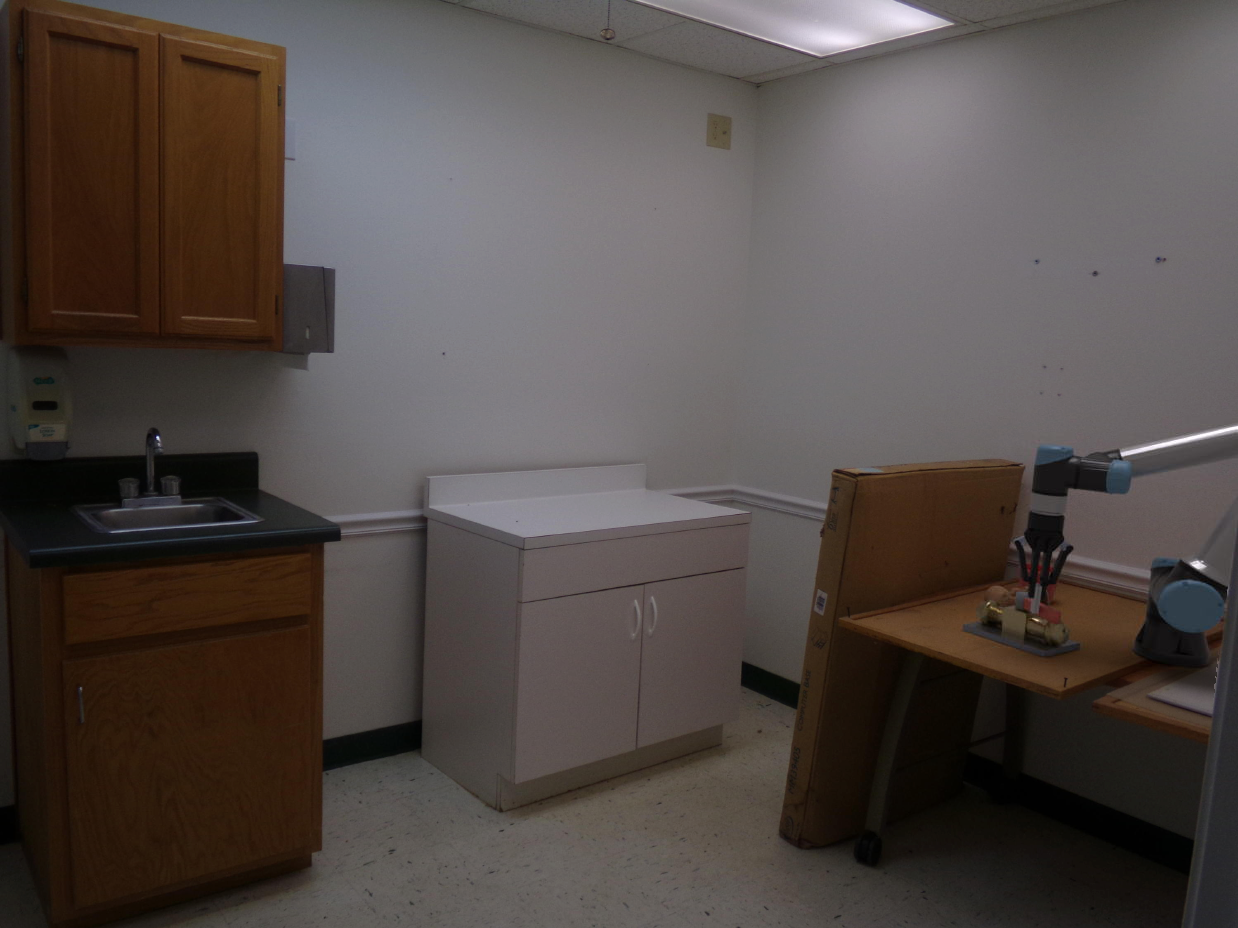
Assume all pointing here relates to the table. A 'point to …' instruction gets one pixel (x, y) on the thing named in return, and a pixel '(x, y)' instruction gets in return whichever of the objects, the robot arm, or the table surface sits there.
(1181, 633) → the robot arm
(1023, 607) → the lever
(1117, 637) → the table surface
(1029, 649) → the valve
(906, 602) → the table surface
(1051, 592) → the flower pot
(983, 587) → the table surface
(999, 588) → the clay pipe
